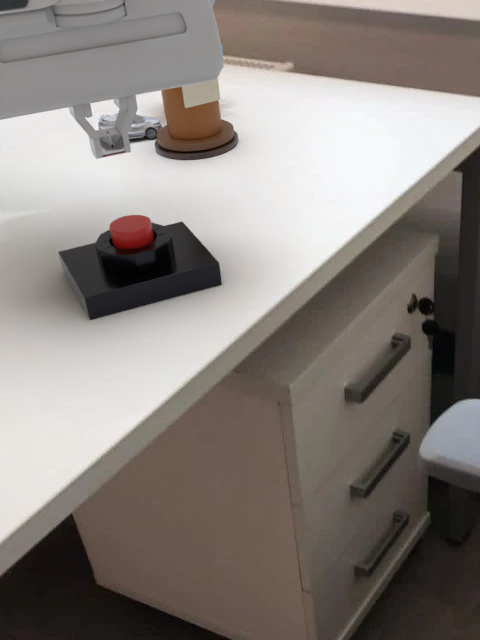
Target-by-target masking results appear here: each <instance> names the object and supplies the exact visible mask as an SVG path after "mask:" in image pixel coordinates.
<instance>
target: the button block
mask: <svg viewBox="0 0 480 640" xmlns="http://www.w3.org/2000/svg"><path fill="white" fill-rule="evenodd" d="M151 224H152V229H153V235H154V241H153V242H152V243H150V244H148V245H147V246H143V247H139V248H135V249H119V248H116V247H114V245H113V241H112V236H111V232H110V228H109V229H108V230H105V231H104V232H102V233H100V234H99V236H98V238H97V239H96V240H95V242H93V243H88V244H84V245H80V246H76V247H71V248H68V249H64V250H60V251H58V257H59V261H60V265H61V269H62V273H63V274H64V276H65V278H66V280H67V282H68V283H69V286H70V288H71V289H72V291H73V292H74V295H75V296H76V298H77V299H78V301H79V303H80V305H81V307H82V309H83V311H84V313H85V314H86V316H87V317H88V320H89V321H92V320H97V319H99V318H104V317H107V316H111V315H115V314H119V313H122V312H126V311H129V310H133V309H137V308H142V307H144V306H145V307H146V306H148V305H152V304H155V303H159V302H163V301H167V300H170V299H171V300H172V299H174V298H178V297H181V296H185V295H189V294H192V293H197V292H200V291H204V290H207V289H212V288H214V287H219V286H222V285H223V281H222V273H221V266H220V265H221V264H220V262H219V260H218V259H216V257H215V256H214V255H213V254H212V253H211V252H210V251H209V250H208V248H207V247H206V246H205V245H204V244H203V243H202V241H200V239H199V238H198V237H197V236H196V235H195V234H194V232H193V231H191V229H190V228H189V227H188V225H186V224H185V222H184V221H178V222H175V223H170V224H165V225H163V224H159V223H156V222H152V221H151Z"/></svg>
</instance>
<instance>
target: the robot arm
mask: <svg viewBox="0 0 480 640" xmlns="http://www.w3.org/2000/svg"><path fill="white" fill-rule="evenodd" d="M215 2H216V0H0V121H2V120H6V119H7V120H8V119H12V118H18V117H23V116H24V117H25V116H29V115H35V114H39V113H45V112H51V111H56V110H62V109H67V108H68V111H69V114H70V115H71V117H72V118H73V119H74V121H76V123H77V124H78V125H79V126H80V127H81V128H82V130H83V131H84V133H86V135H87V136H88V140H89V145H90V150H91V154H92V156H93V157H94V158H95V159H96V160H99V159H103V158H108V157H111V156H118V155H123V154H127V153H129V154H130V153H131V151H132V150H131V149H132V148H131V143H130V139H129V136H128V132H129V131H130V128H131V125H132V123H133V120H134V117H135V115H137V112H138V108H139V107H138V102H137V96H139V95H145V94H149V93H153V92H161V90H166V89H171V88H177V87H182V86H188V85H193V84H198V83H204V82H209V81H214V80H216V79H217V78H218V79H219V76H220V74H221V73H222V71H223V69H224V65H225V64H224V63H225V62H224V61H225V60H224V53H223V54H222V47H223V46H222V47H221V44H222V42H221V37H220V32H219V27H218V23H217V19H216V17H215V13H214V9H213V7H214V5H215ZM110 100H113V104H114V105H115V106H116V107H117V108H118V109H119V110H118V112H117V113H118V116H117V119H116V122H115V125H114V127H112V128H108V129H102V130H99V129H98V130H96V128H95V127H93V126H92V124H91V123H90V122H89V121H88V119H86V118H92V117H93V111H92V105H91V104H95V103H101V102H105V101H106V102H107V101H110Z"/></svg>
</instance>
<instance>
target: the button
mask: <svg viewBox="0 0 480 640" xmlns="http://www.w3.org/2000/svg"><path fill="white" fill-rule="evenodd" d="M151 222H152V220H151V218H150V217H149V216H147V215H140V214H129V215H125V216H120V217H118V218H116V219H114V220H113V221H112V222H111V223H110V224H109V229H110V232H111V236H112V241H113V245H114V247H116V248H119V249H135V248H139V247H143V246H147V245H148V244H150V243H152V242H153V241H154V235H153V229H152V224H151Z"/></svg>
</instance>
